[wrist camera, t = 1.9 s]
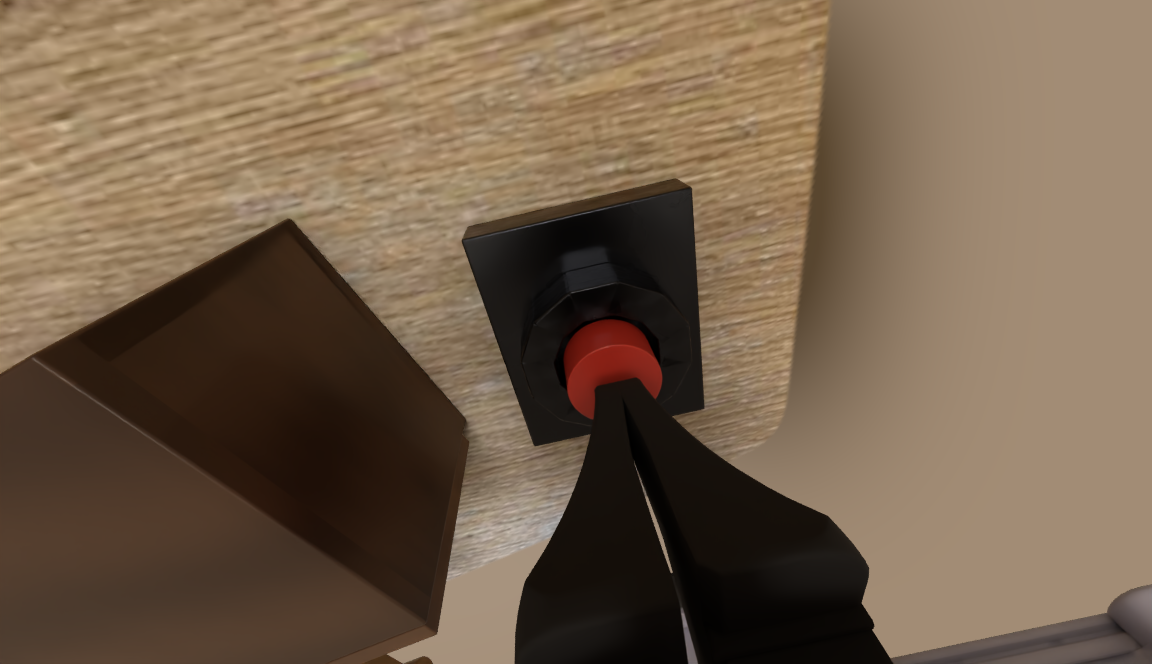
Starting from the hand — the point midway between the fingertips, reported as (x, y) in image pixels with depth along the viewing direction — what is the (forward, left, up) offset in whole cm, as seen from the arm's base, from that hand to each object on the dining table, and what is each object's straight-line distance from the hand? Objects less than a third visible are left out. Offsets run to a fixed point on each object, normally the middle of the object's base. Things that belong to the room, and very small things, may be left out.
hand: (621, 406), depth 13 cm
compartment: (-8, +13, -6) cm, 16 cm away
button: (0, 0, -3) cm, 3 cm away
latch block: (0, 0, -6) cm, 6 cm away
